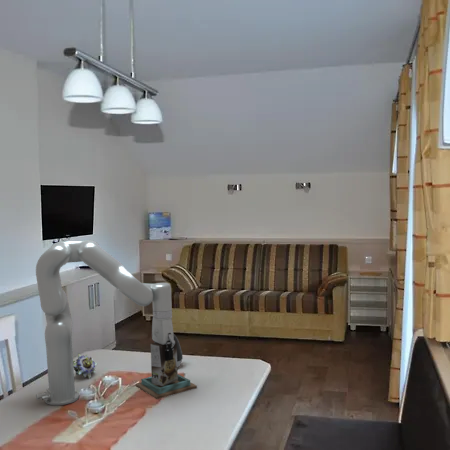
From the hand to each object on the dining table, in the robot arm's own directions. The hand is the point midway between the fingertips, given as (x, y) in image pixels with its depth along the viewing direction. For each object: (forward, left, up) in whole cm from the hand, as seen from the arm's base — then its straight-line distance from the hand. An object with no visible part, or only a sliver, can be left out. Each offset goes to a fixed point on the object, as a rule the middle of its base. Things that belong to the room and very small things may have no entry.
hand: (164, 357), depth 218 cm
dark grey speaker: (+14, +20, -12) cm, 27 cm away
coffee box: (0, 0, -10) cm, 10 cm away
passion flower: (-21, +35, -12) cm, 43 cm away
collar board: (0, 0, -12) cm, 12 cm away
